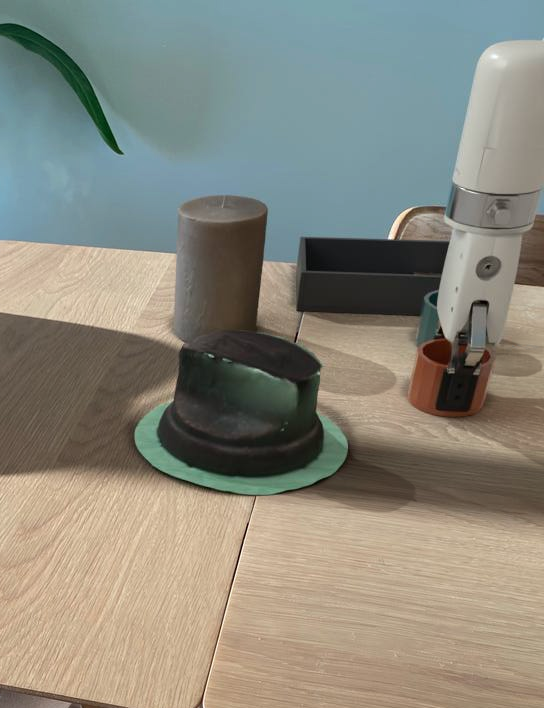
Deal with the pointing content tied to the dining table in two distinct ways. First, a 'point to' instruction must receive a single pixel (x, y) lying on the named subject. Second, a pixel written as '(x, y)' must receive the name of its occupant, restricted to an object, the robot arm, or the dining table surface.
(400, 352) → the dining table surface
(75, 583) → the dining table surface
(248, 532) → the dining table surface
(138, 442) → the dark hat
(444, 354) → the orange cup
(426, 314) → the teal cup
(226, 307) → the pillar candle
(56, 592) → the dining table surface
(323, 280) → the tub
